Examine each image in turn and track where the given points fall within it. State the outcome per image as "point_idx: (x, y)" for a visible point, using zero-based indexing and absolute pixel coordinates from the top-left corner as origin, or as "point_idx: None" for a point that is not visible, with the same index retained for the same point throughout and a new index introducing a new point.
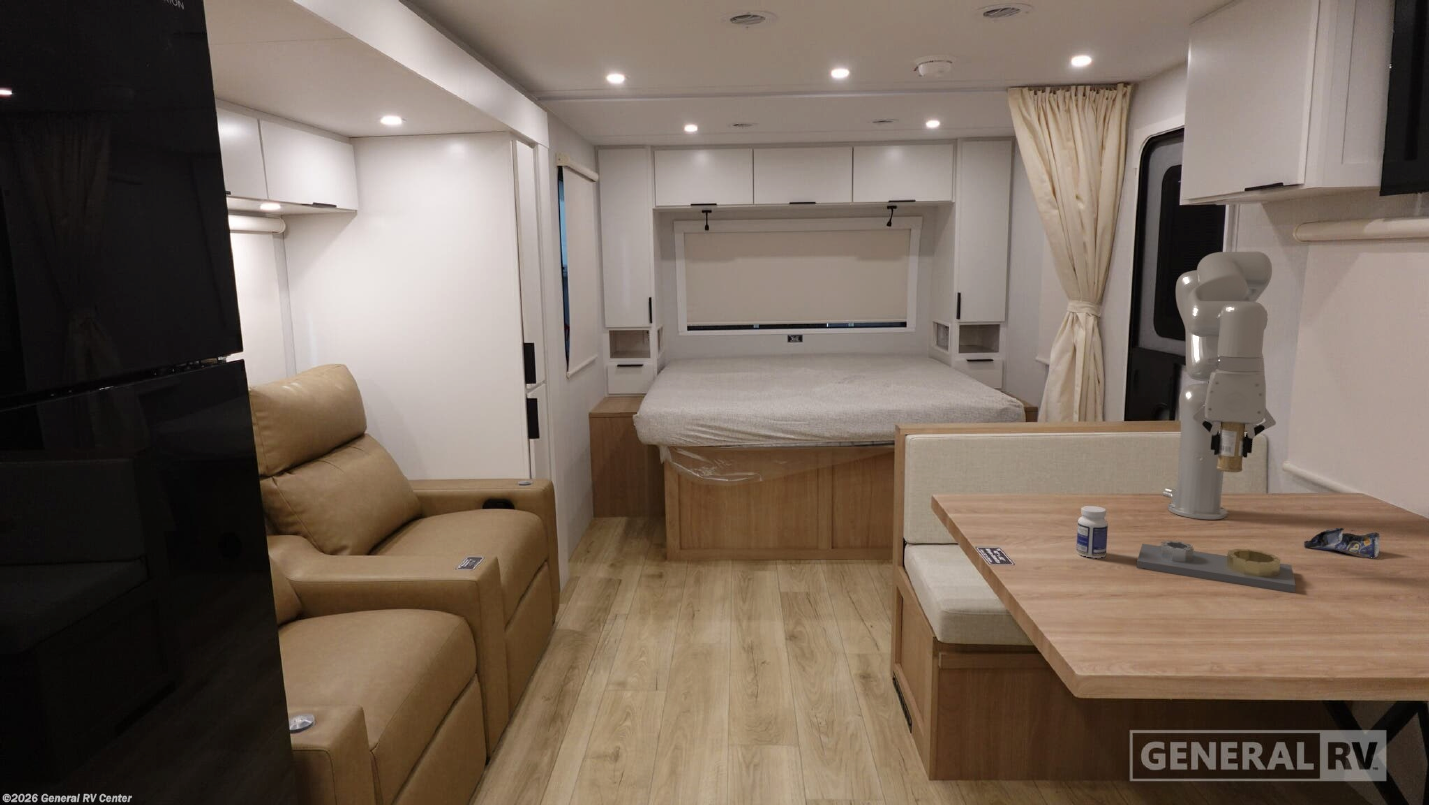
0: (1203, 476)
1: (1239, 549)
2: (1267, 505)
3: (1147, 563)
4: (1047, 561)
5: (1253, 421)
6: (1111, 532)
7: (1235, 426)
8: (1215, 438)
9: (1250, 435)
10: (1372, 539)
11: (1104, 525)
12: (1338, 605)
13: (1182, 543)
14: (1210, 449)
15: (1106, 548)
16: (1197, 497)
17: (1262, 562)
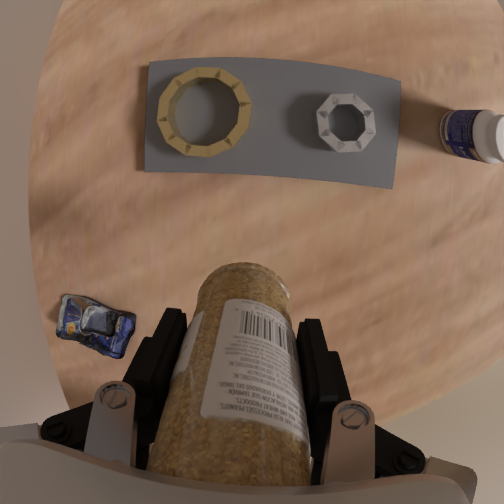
0: None
1: (226, 147)
2: None
3: (384, 77)
4: (493, 86)
5: (44, 455)
6: (418, 271)
7: (205, 455)
8: (335, 380)
9: (120, 397)
10: (64, 328)
11: (478, 117)
12: (107, 51)
13: (336, 139)
14: (334, 352)
15: (445, 129)
16: None
17: (190, 80)
